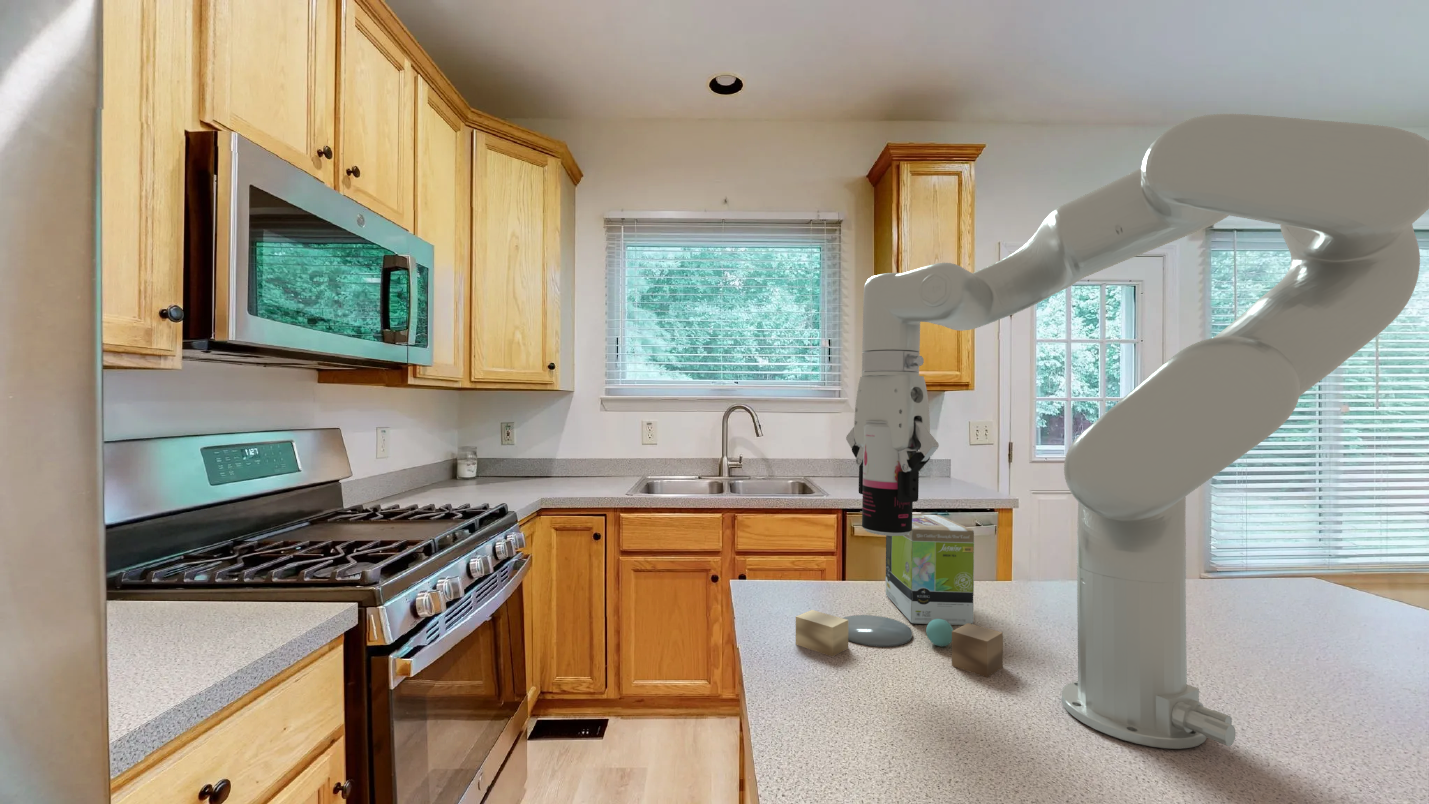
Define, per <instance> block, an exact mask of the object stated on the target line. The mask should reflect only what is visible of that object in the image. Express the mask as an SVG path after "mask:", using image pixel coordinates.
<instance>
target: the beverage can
mask: <svg viewBox="0 0 1429 804" xmlns="http://www.w3.org/2000/svg"><path fill="white" fill-rule="evenodd" d="M865 422H867V423H866V424H865V425H864V452H863V494H862V500H861V501H862V505H861V507H862V508H861V510H862V511H861V527H862V528H863V529H864V531H865V532H867V533H870V534H873V535H881V536H886V535H887V536H902V535H907V534H909V532H911V531H912V515H913V505H914V502H905V503H902V502H899V501H898V500H897V492H898V471H903V470H902V468H901V465H900V461H899V458H898V450H895V449H894V448H892V441H891V434H890V427H889V426H888V425H887V424H886V423H888V422H887V421H865ZM913 436H914V434H913ZM908 447H912V442H910V441H909V445H908ZM907 454H908V457H909V460H910V458H911V453H907Z"/></svg>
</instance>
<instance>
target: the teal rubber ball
mask: <svg viewBox="0 0 1429 804" xmlns="http://www.w3.org/2000/svg"><path fill="white" fill-rule="evenodd" d="M953 630H954V629H953V626H952V625H950V624H949V623H948V622H947V621H945V620H943V619H934V620H932V621H930V622H929V624H926V629H925V634H926V636H927V639H928V640H929V642H931V643H932V644H933V645H934V646H938V647H946V646H948V645H950V644H952V631H953Z"/></svg>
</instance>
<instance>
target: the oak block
mask: <svg viewBox="0 0 1429 804" xmlns="http://www.w3.org/2000/svg"><path fill="white" fill-rule="evenodd" d="M843 618H844V617H839V616H836V615H833V614H829V613H825V612H822V611H819V610H815V609H810V610H808V611H806V612H803V613H801V614H799V615H796V616H795V645H797V646H800V647H801V648H806V649H808V650H811V651H814V652H818V653H820V654H823V655H826V656H829V657H831V658H833V657H835V656H837V655H838V654H840V653H842V652H844V651H846V650H848V649H849V640H848V620H847V619H843Z"/></svg>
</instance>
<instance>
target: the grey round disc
mask: <svg viewBox="0 0 1429 804" xmlns="http://www.w3.org/2000/svg"><path fill="white" fill-rule="evenodd" d="M842 618H843V619H847V620H848V642H852V643H855V644H859V645H863V646H870V647H882V648H884V647H886V648H887V647H896V646H903V645H905V644H907V643H909V642H910V641H911V640H912V638H913V631H912V628H911V627H910V626H909V625H907V624H906V623H904V622H902V621H900V620H897V619H894V618H890V617H886V616H882V615H881V616H878V615H872V614H870V615H869V614H858V615H857V614H854V615H848V616H844V617H842Z"/></svg>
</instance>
